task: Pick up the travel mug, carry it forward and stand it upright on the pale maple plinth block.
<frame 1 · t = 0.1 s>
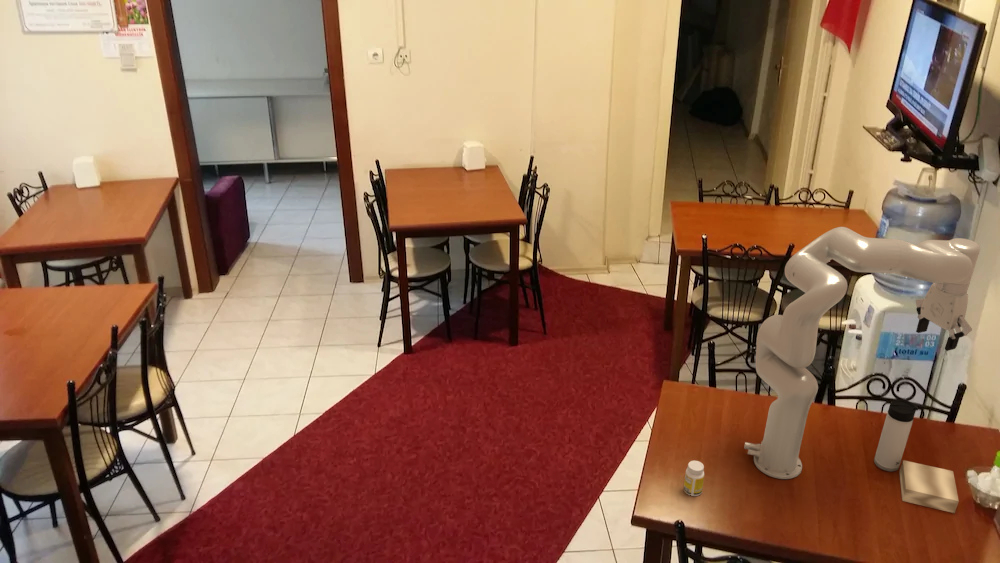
hand: (935, 340, 208), 31 cm above the table, tool pointing down, fingers open, 9 cm apart
travel mug: (886, 464, 210), on the table
plinth: (925, 491, 200), on the table
supplement bottle: (692, 491, 201), on the table
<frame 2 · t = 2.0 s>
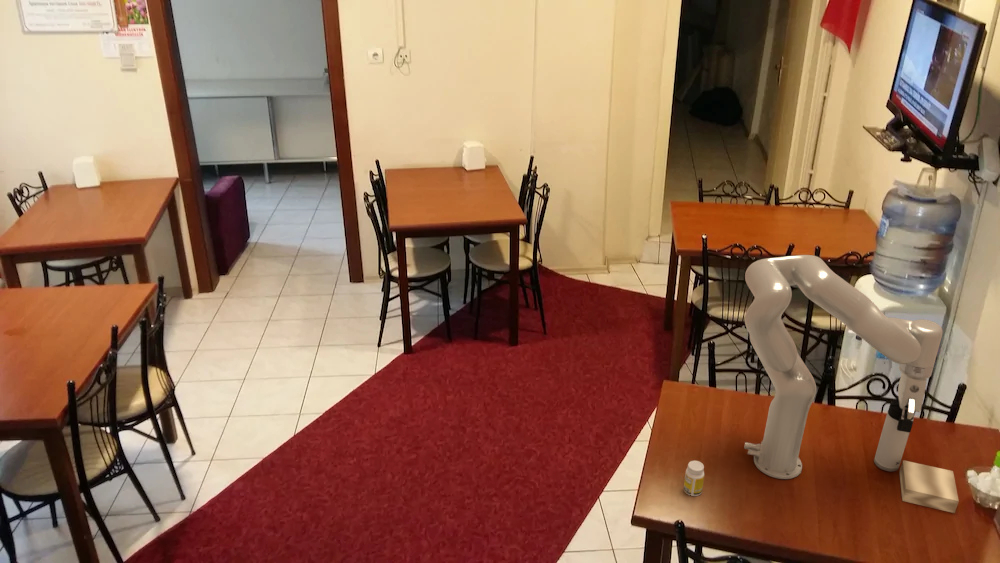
hand: (902, 420, 203), 15 cm above the table, tool pointing down, fingers open, 9 cm apart
nothing on the table moved.
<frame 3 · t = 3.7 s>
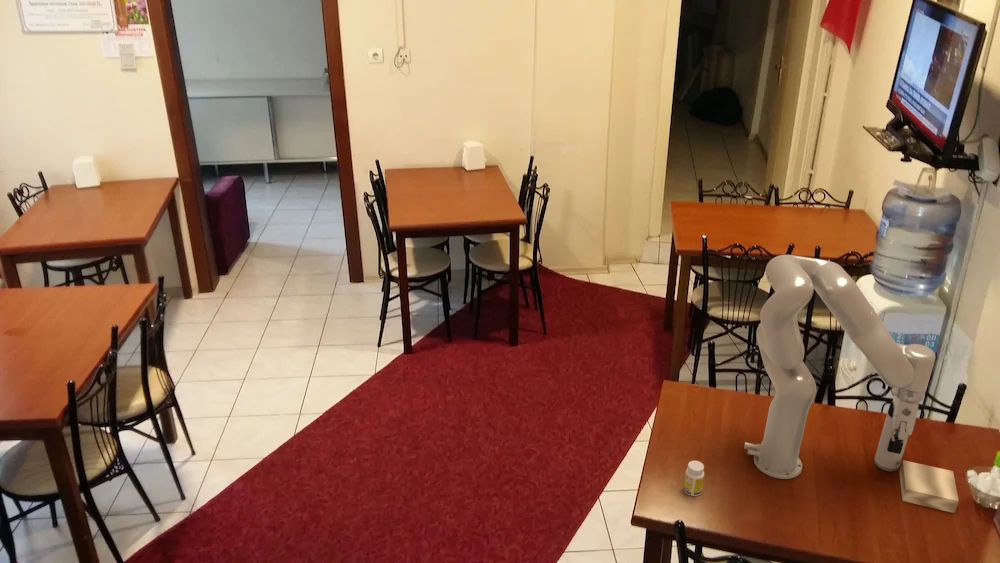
hand: (892, 443, 206), 7 cm above the table, tool pointing down, fingers closed on travel mug, 6 cm apart
travel mug: (886, 464, 210), on the table, touching gripper
everything else where it was.
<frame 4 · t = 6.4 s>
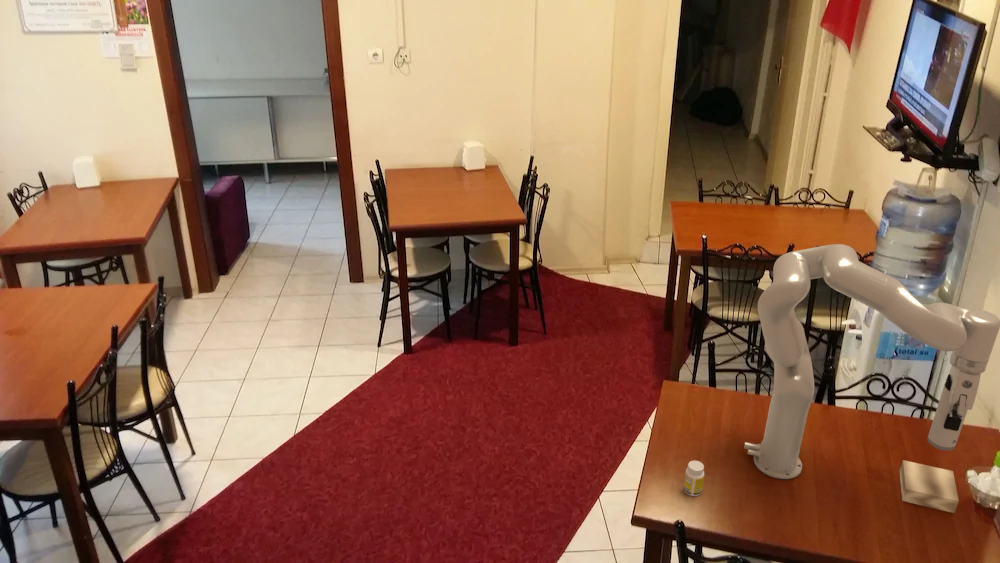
hand: (949, 420, 190), 23 cm above the table, tool pointing down, fingers closed on travel mug, 6 cm apart
travel mug: (941, 443, 193), point 16 cm above the table, touching gripper
everything else where it was.
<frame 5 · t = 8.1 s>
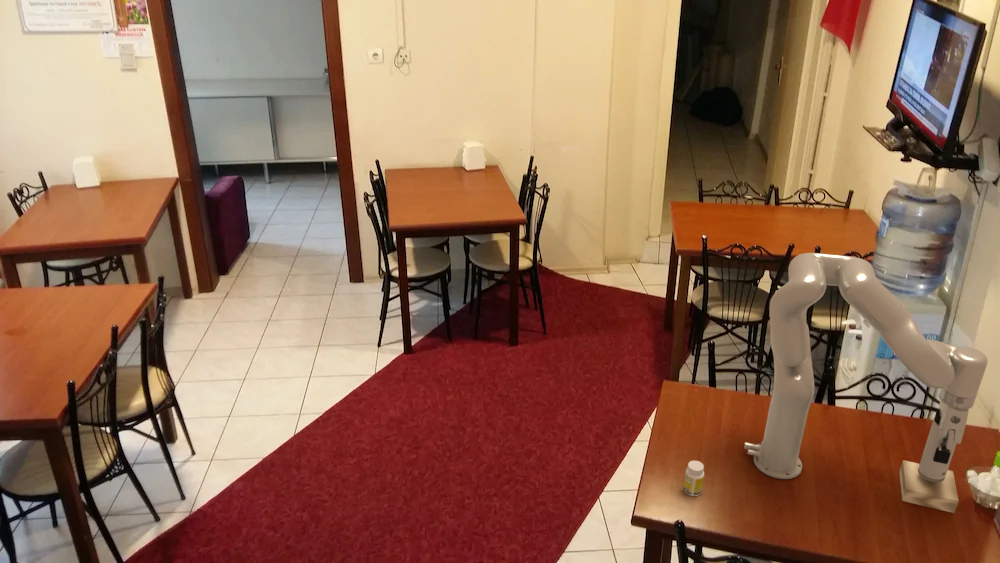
hand: (938, 453, 194), 13 cm above the table, tool pointing down, fingers closed on travel mug, 6 cm apart
travel mug: (931, 475, 198), point 6 cm above the table, touching gripper
everything else where it was.
when the fingers open (12 cm above the table, at t = 9.2 s): travel mug stays where it is, resting on plinth.
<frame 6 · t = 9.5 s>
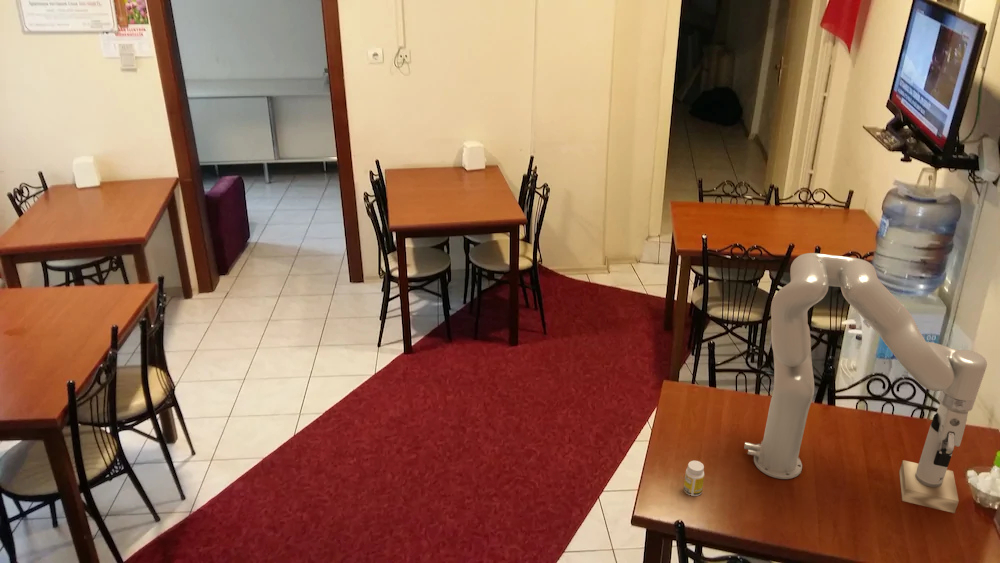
hand: (938, 453, 194), 13 cm above the table, tool pointing down, fingers open, 8 cm apart
travel mug: (928, 480, 198), point 4 cm above the table, touching plinth
everything else where it was.
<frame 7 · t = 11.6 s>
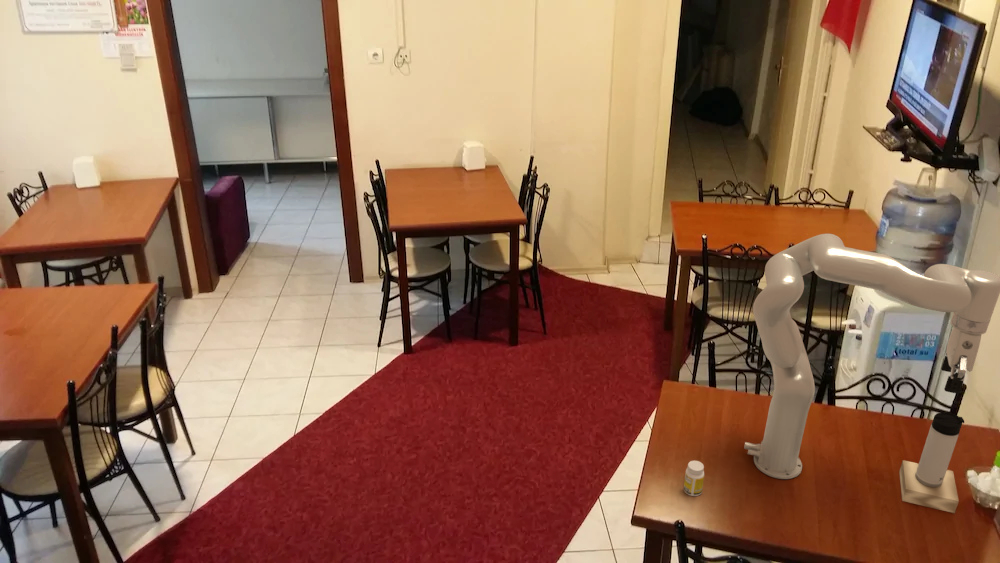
hand: (949, 381, 188), 33 cm above the table, tool pointing down, fingers open, 9 cm apart
nothing on the table moved.
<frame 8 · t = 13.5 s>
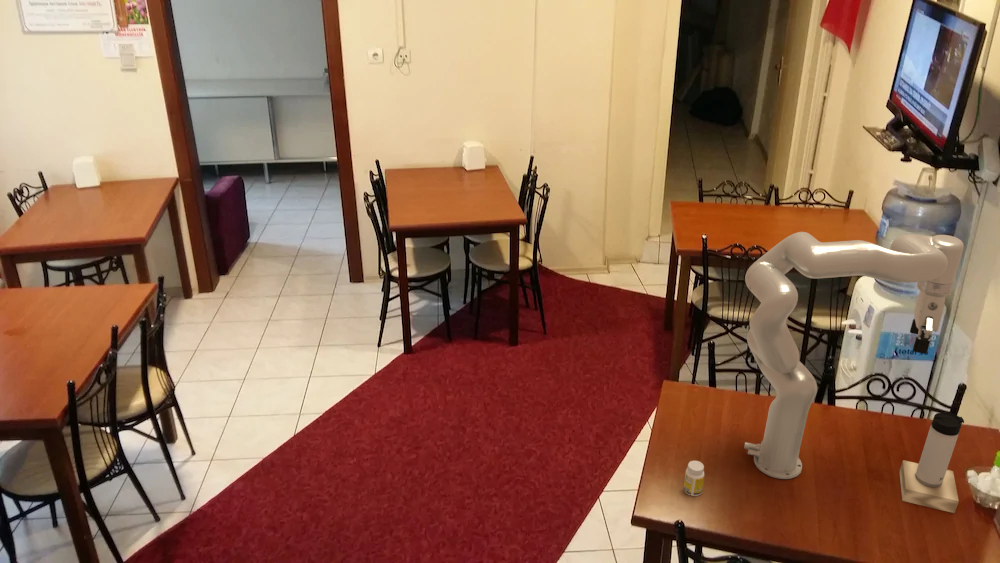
hand: (917, 342, 197), 36 cm above the table, tool pointing down, fingers open, 9 cm apart
nothing on the table moved.
at the end: travel mug inside the target area on the plinth (0.2 cm from its centre), point 3.8 cm above the plinth's base; travel mug tilted 0°; the gripper is holding nothing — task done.
